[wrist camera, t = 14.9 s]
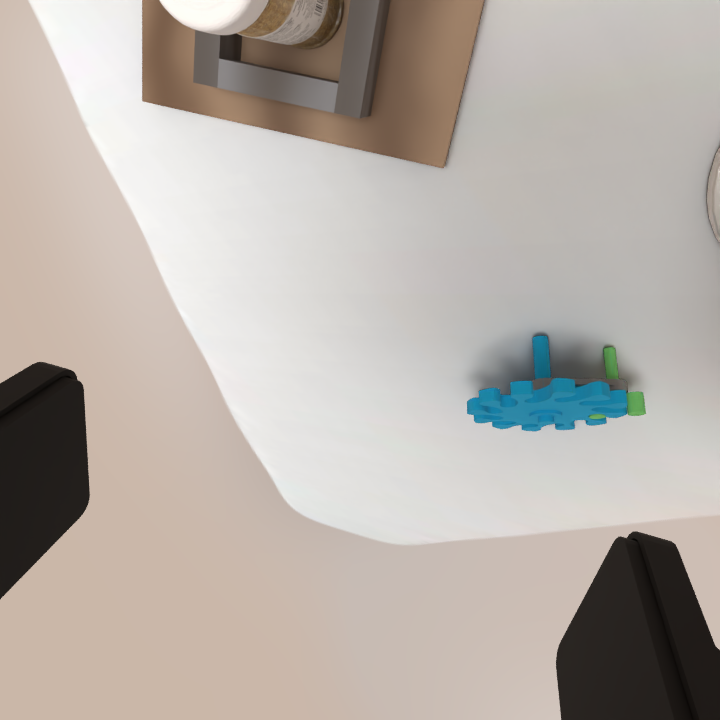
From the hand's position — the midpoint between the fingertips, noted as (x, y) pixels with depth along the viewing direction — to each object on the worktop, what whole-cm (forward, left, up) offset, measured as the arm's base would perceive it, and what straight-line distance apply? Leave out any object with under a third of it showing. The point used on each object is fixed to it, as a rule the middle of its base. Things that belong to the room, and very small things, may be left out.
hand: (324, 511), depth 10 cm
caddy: (+11, -9, -30) cm, 33 cm away
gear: (-10, +11, -31) cm, 34 cm away
